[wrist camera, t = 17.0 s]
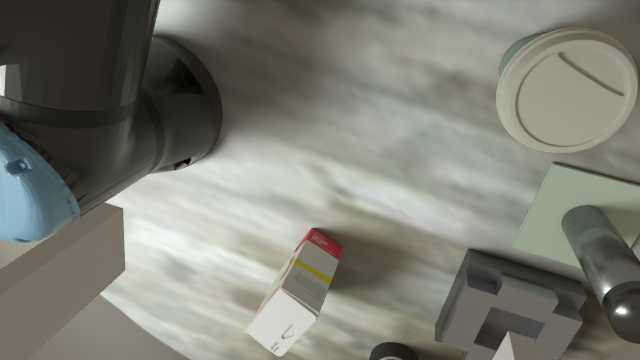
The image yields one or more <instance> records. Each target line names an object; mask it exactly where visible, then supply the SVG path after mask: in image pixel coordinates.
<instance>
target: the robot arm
mask: <svg viewBox="0 0 640 360" xmlns="http://www.w3.org/2000/svg"><path fill="white" fill-rule="evenodd" d="M159 4H160V0H0V239H3V240H7V241H11V242H21V243H27V242H31V241H39V240H42V239H44V238H47V237H48V236H50V235H52V234H54V233H55V234H54V235H52V236H51V237H49V238H48V239H46V240H45V241H43V242H42V243H40V244H38V245H37V246H35V247H34V248H32V249H31V250H29V251H28V252H26V253H25V254H23V255H22V256H20V257H19V258H17V259H15V260H14V261H12V262H11V263H9V264H8V265H6V266H5V267H3V268H2V269H0V360H28V359H29V358H30V357H31V356H32V355H33V354H34V353H35V352H36V351H37V350H39V349H40V348H41V347H42V346H43V345H44V344H45V343H46V342H47V341H48V340H49V339H51V338H52V337H53V336H54V335H55V334H56V333H57V332H58V331H59V330H60V329H61V328H63V327H64V326H65V325H66V324H67V323H68V322H69V321H70V320H71V319H72V318H73V317H75V316H76V315H77V314H78V313H79V312H80V311H81V310H82V309H83V308H84V307H85V306H87V305H88V304H89V303H90V302H91V301H92V300H93V299H94V298H95V297H96V296H97V295H99V294H100V293H101V292H102V291H103V290H104V289H105V288H106V287H107V286H108V285H109V284H111V283H112V282H113V281H114V280H115V279H116V278H117V277H118V276H119V275H120V274H121V273H123V272H124V271H125V252H124V223H123V208H120V207H117V206H114V205H111V204H107V203H104V202H106V201H107V200H109V199H111V198H112V197H114V196H115V195H117V194H118V193H120V192H121V191H123V190H124V189H126V188H128V187H129V186H131V185H132V184H134V183H135V182H137V181H138V180H140V179H141V178H143V177H144V176H146V175H147V174H153V173H160V172H167V171H174V170H179V169H182V168H185V167H188V166H190V165H192V164H193V163H195V162H196V161H198V160H199V159H201V158H202V157H203V156H205V155H206V154H207V153H208V152H209V151H210V150H211V149H212V147H213V146H214V144H215V143H216V141H217V139H218V136H219V133H220V129H221V124H222V107H221V101H220V97H219V93H218V90H217V88H216V85H215V83H214V81H213V79H212V77H211V75H210V74H209V72H208V71H207V69H206V68H205V66H204V65H203V64H202V63H201V62H200V60H199V59H198V58H197V57H196V56H195V55H193V54H192V53H191V52H190V51H189V50H187V49H186V48H184V47H183V46H181V45H180V44H178V43H176V42H174V41H171V40H169V39H165V38H162V37H155V36H152V35H153V31H154V27H155V22H156V18H157V13H158V9H159ZM56 232H57V233H56ZM492 360H540V358H539V354H538V351H537V347H536V344H535V340H534V339H532V338H529V337H526V336H523V335H520V334H517V333H514V332H510V331H508V332H507V334H506V336H505V338H504V340H503V341H502V343H501V345H500V347H499V349H498V350H497V352H496V354H495V356H494V358H493V359H492Z"/></svg>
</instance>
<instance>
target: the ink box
mask: <svg viewBox="0 0 640 360" xmlns="http://www.w3.org/2000/svg"><path fill="white" fill-rule="evenodd" d="M343 250H344V248H343V247H342V246H340V245H338V244H337V243H335V242H334V241H332V240H331V239H329V238H328V237H326V236H325V235H323V234H322V233H320V232H318V231H317V230H315V229H314V228H311V230H310V231H309V232H308V234H307V235H306V236H305V238H304V239H303V240H302V242H301V243H300V244H299V246H298V247H297V248H296V250H295V251H294V252H293V254H292V255H291V257H290V258H289V259H288V261H287V262H286V263H285V265H284V266H283V267H282V269H281V271H280V272H279V274H278V276H277V278H276V279H275V281H274V283H273V285H272V286H271V288H270V290H269V292H268V293H267V295H266V297H265V299H264V301H263V302H262V304H261V306H260V308H259V309H258V311H257V313H256V314H255V316H254V318H253V320H252V321H251V323H250V325H249V326H248V328H247V329H246V331H245V333H246V334H247V335H249V336H250V337H251V338H253V339H254V340H255V341H257V342H258V343H260V344H261V345H262V346H264V347H265V348H267V349H268V350H270V351H271V352H272V353H274V354H275V355H277V356H279V357H280V356H283V355H284V354H285V353H286V352H287V351H288V350H289V349H290V348H291V347H292V345H293V344H294V343H295V342H296V341H298V340H299V338H300V337H301V336H302V335H303V334H304V333H305V332H306V331H307V330H308V329H309V328H310V327H311V326H312V325H313V324H314V323H315V322H316V321H317V317H318V316H319V313H320V310H321V307H322V305H323V302H324V299H325V297H326V294H327V292H328V289H329V287H330V283H331V281H332V279H333V276H334V273H335V271H336V268H337V266H338V263H339V260H340V258H341V255H342V252H343Z"/></svg>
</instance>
